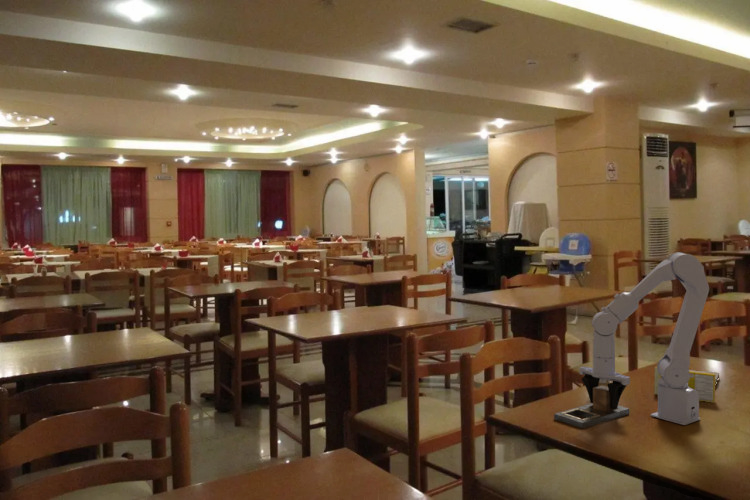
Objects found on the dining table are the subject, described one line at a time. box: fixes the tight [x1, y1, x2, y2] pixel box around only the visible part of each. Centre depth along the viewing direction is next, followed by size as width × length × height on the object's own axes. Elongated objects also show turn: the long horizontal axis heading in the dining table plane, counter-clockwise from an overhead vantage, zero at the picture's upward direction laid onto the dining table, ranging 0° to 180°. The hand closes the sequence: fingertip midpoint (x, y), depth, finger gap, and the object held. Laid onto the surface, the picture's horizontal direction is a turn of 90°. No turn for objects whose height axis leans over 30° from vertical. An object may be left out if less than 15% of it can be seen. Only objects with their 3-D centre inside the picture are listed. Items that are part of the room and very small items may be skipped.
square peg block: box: [593, 386, 615, 412], centre depth 167 cm, size 4×4×7 cm
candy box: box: [653, 366, 716, 404], centre depth 180 cm, size 16×2×8 cm, turn 52°
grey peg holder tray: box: [553, 403, 630, 430], centre depth 164 cm, size 9×20×2 cm, turn 124°
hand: (603, 405), depth 167 cm, fingers open, 6 cm apart
